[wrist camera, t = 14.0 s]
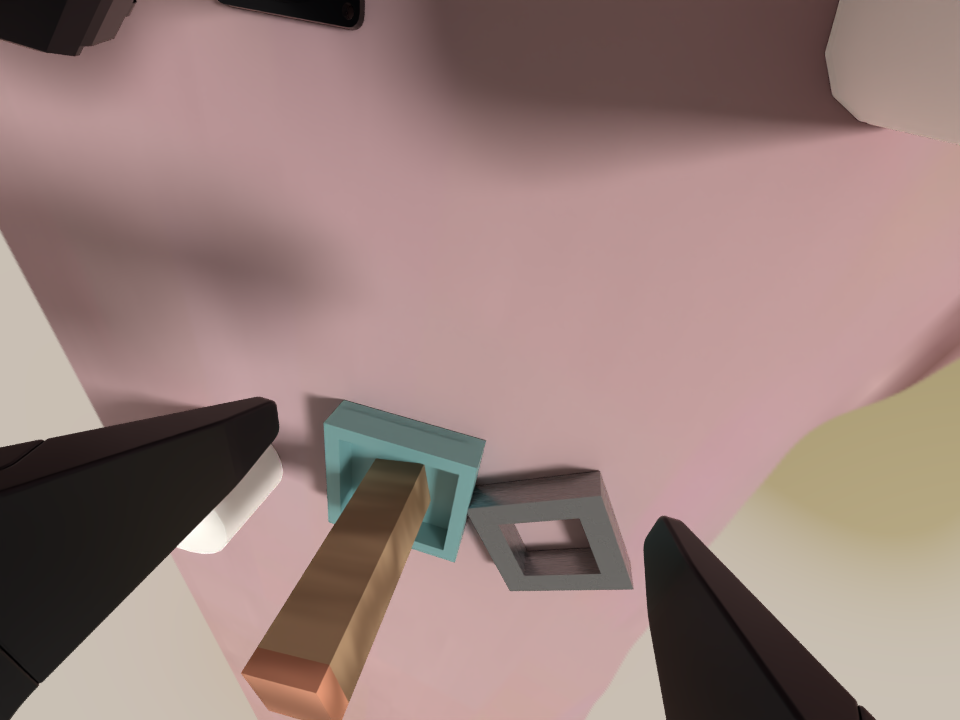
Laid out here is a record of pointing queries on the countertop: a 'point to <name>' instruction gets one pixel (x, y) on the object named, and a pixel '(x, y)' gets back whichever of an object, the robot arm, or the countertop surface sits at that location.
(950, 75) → the foam cup
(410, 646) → the countertop surface
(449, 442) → the tray
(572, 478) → the grey square flat frame
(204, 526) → the cylinder with rectangular tab
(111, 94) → the countertop surface
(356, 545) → the pin
